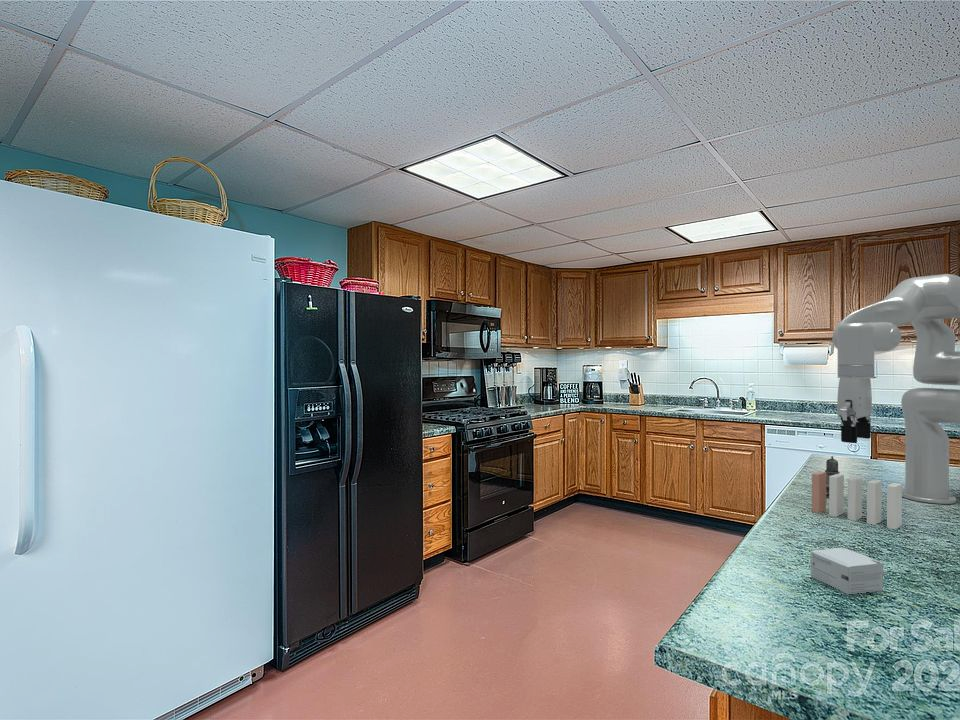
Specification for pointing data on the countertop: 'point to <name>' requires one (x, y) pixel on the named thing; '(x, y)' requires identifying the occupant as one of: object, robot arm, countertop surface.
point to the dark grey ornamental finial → (830, 471)
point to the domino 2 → (854, 498)
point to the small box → (847, 570)
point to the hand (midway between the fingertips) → (856, 440)
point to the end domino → (818, 492)
